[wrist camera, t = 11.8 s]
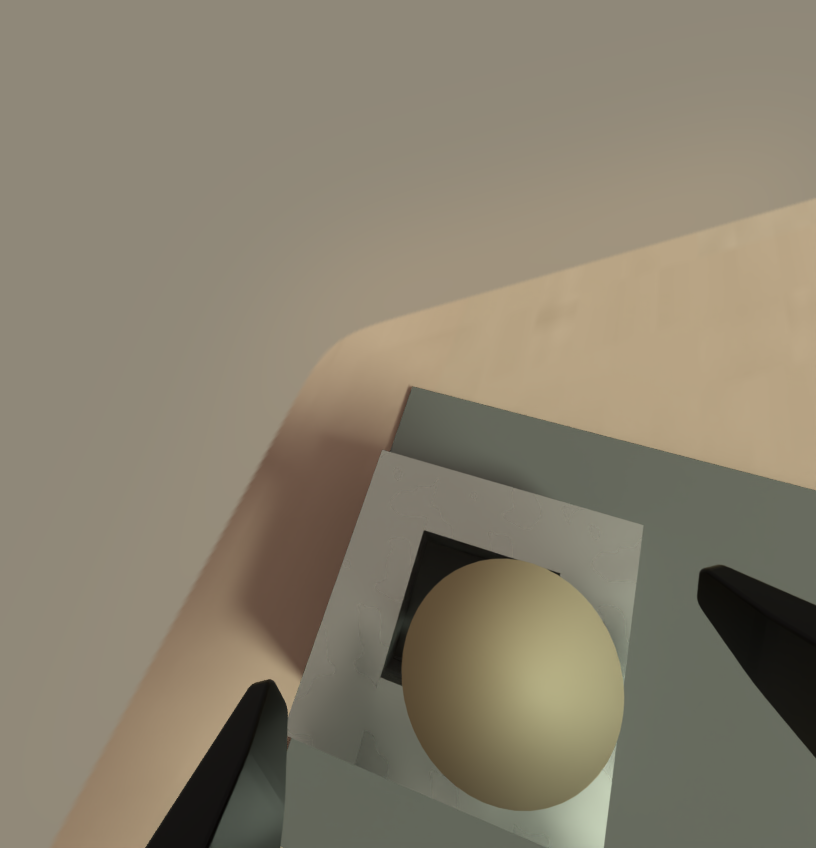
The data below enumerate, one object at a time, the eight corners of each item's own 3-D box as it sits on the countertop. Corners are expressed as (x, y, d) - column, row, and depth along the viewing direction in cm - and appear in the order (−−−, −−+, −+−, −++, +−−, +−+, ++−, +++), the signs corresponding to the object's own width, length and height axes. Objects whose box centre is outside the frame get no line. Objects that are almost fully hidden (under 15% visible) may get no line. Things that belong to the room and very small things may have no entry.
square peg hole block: (598, 537, 17) (643, 524, 13) (557, 794, 14) (600, 870, 10) (393, 475, 19) (382, 449, 15) (319, 697, 16) (282, 734, 12)
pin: (511, 587, 17) (637, 596, 6) (493, 669, 16) (607, 855, 5) (439, 564, 17) (435, 533, 6) (417, 641, 16) (371, 755, 5)
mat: (932, 523, 17) (938, 522, 16) (1002, 1187, 11) (1013, 1198, 11) (412, 388, 20) (412, 386, 20) (260, 832, 15) (257, 835, 14)
